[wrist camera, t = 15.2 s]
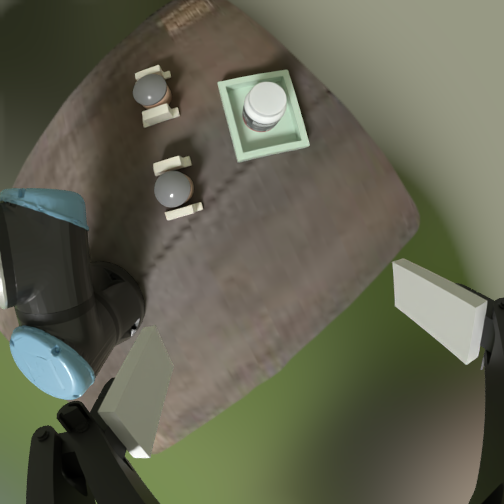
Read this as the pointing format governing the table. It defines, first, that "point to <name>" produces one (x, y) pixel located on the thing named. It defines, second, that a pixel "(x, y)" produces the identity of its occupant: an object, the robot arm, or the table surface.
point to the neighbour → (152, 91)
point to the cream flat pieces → (173, 163)
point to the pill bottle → (264, 106)
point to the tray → (270, 142)
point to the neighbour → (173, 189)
